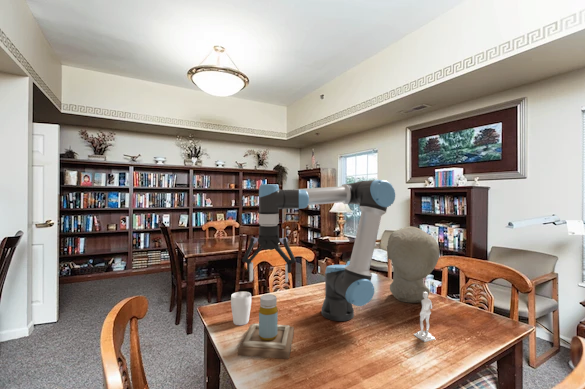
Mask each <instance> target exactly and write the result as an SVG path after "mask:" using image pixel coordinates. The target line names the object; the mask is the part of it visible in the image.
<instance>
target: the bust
mask: <svg viewBox="0 0 585 389" xmlns="http://www.w3.org/2000/svg"><path fill="white" fill-rule="evenodd" d="M386 252H387V254H386V255H387V259H388V260H390V261H391V264H392V268H393V275H392V276H393V277H392V278H393V279H392V282H391V283H390V285H389V291H390V293H391V294H392V296H393V297H394V298H395V299H396V300H398V301H400V302H402V303H407V304H418V303H421V302H422V300H423V299H424V297H423V292H427V293H428V297H427V298H428V299H429V295H430V292H431V291H430V289H429V288H428V287H427V285H426V284H425V283H424V279H425V278H427V277H428V275H430V274H431V273H432V272H433V271H434V269H435V268H436V266H437V264H438V261H439V258H440V246H439V243H438V242H437V240H436V239H435V237H433V236H432V235H431V234H429V233H428V232H426V231H424V230H423V229H421V228H418V227H416V226H411V225H410V226H406V227H403V228H399V229H396V230H395V231H393V232H392V233H390V235H389V237H388V241H387V245H386Z"/></svg>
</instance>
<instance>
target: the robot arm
mask: <svg viewBox="0 0 585 389" xmlns="http://www.w3.org/2000/svg"><path fill="white" fill-rule="evenodd" d="M279 187H280V186H279V184H277V183H276V184H274V183H272V184H271V183H270V184H269V183H268V184H266V183H265V184H261V185H259V187H258V224H259V226H258V237H255V236H252V237H250V240H249V245H248V247H247V250H246V251H245V253H244V254H243V255H244V256H243V257H242V259H241V262H242V263H245V264H246V272H247V273H249V282H253V280H254V262H253V260H254V259H255V258H256V256H257V255H258V254H259V253H260V252H261V251H262V250H265V251H266V250H270V251H273V250H275V251H276V252H277V253H278V254H279V255H280V257H281V258H282V259H283V261H284V262H285V265H284V266H285V267H284V268H285V269H284V270H285V271H284V272H285V274H284V275H285V279H284V280H285V281H284V282H285V283H288V282H289V274H290V273H291V271H292V264H295V263H296V260H297V259H296V257H295V256H294V254H293V251H292V249H291V248H290V245H289V243H288V242H289V241H288V238H287V236H286V237H282V238H280V231H279V230H280V226H279V225H278V224H279V223H280V218H279V216H280V215H279V214H280V210H283V209H284V210H296V209H299V210H300V209H306V208H308V207H309V206H313V205H316V206H317V205H325V204H326V205H328V204H338V203H342V204H344V205H359V209H360V211H361V214H360V216H359V221H358V225H357V230H356V234H355V239H354V244H353V247H352V252H351V255H350V260H349V264H348V265H347V264H331V265H327V266H326V268H325V271H324V272H325V273H324V274H325V276H324V278H325V279H324V280H325V281H324V282H325V285H324V286H325V290H324V293H325V296H324V299H323V303H322V305H321V312H320V313H321V316H322V317H324V318H325V319H327V320H330V321H334V322H335V321H336V322H346V321H350V320H352V319H353V318H354V316H355V312H354V306H356V307H363V306H366V305H367V304H368V303H370V301H371V300H372V299H373V297H374V294H375V286H374V284H373V282H372V281H371V280H372V277H373V275H372V273H371V271H370V268H371V264H372V260H373V255H374V252H375V246H376V242H377V237H378V233H379V230H380V224H381V219H382V216H384V215H385V214H387V210H388V208H389V207H391V206H392V205H393V204H394V202H395V200H396V190H395V188H394V186H393V184H392V183H390V182H389V181H387V180H385V179H371V180H361V181H356V182H352V183H350V182H349V183H344V184H342V185H341V186H327V187H312V188H296V189H295V188H293V189H280V188H279ZM257 242H258V244H259V246H258V248H256V250H254V252H253V254H251V252H252V249H253V247H254V246H255V244H256V243H257ZM280 243H281V244H282V245H283V246H284V248H285V250H286V252H284V251H283V249H282V248H281V247H280V245H279V244H280ZM286 253H287V254H286ZM250 254H251V256H250V257H249V255H250ZM288 256H289V257H288Z"/></svg>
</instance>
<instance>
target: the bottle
mask: <svg viewBox="0 0 585 389" xmlns="http://www.w3.org/2000/svg"><path fill="white" fill-rule="evenodd" d="M259 298H260V302H259V309H258V324H259V337H260V338H261V339H262V340H264V341H271V340H274V339H275V338H276V337H277V325H279V324H278V318H279V317H278V315H279V313H278V310H279V309H278V306H277V301H278V300H277V298H278V297H277V295H275V294H270V293H269V294H267V293H266V294H263V295H261V296H260V297H259Z"/></svg>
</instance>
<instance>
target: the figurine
mask: <svg viewBox="0 0 585 389" xmlns="http://www.w3.org/2000/svg"><path fill="white" fill-rule="evenodd" d="M423 297H424V299H423V300H422V302H420V304H421V310H420V312H419V316H420V317H419V326H420V327H419V328H420V330H418V331H417V332H416V333H413V336H415V337H416V338H417V339H419V340H420V341H422V342H424V343H427V342H430V341H433V340H436V338H435V336H434V335H432V333H430V332H429V330H430V321H429V320H430V317H431V316H430V315H431V314H432V311H431V310H432V309H433V304H432V300H431V299H430V298H429V295H428V293H427V292H423ZM427 297H428V298H427ZM424 320H425V323H426V325H425V326H426V327H425V328H426V329H425V330H424Z"/></svg>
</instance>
